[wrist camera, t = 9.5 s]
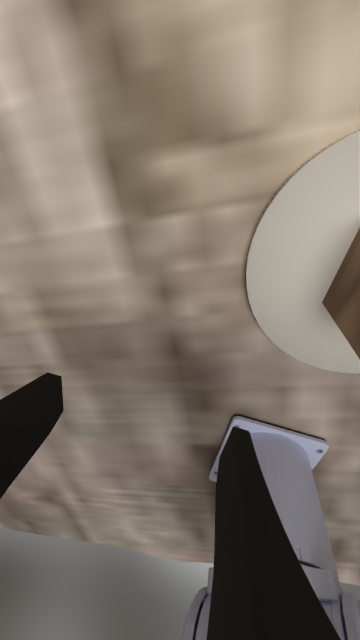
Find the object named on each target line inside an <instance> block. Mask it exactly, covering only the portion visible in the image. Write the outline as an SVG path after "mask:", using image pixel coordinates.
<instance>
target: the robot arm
mask: <svg viewBox="0 0 360 640" xmlns="http://www.w3.org/2000/svg"><path fill="white" fill-rule="evenodd" d="M62 412H63V395H62V380H61V376H58V375H55V374H51V373H46V374H44V375H42V376H41V377H39V378H37V379H35V380H34V381H32V382H30V383H29V384H27V385H25V386H23V387H22V388H20V389H18V390H17V391H15V392H13V393H11V394H10V395H8V396H6V397H4V398H3V399H1V400H0V499H1V497H2V496H3V494H4V493H5V492H6V490H7V489H8V487H9V486H10V485H11V483H12V482H13V481H14V480H15V478H16V477H17V476H18V474H19V473H20V472H21V470H22V469H23V468H24V467H25V465H26V464H27V463H28V461H29V460H30V459H31V457H32V456H33V455H34V453H35V452H36V451H37V450H38V448H39V447H40V446H41V444H42V443H43V442H44V440H45V439H46V438H47V436H48V435H49V434H50V432H51V430H52V429H53V427H54V426H55V424H56V422H57V421H58V419H59V417H60V415H61V414H62ZM236 425H238V426H236ZM328 449H329V446H328V443H327V442H326V441H324V440H321V439H318V438H314V437H311V436H307V435H304V434H300V433H297V432H293V431H290V430H286V429H283V428H279V427H276V426H272V425H269V424H265V423H262V422H258V421H255V420H251V419H248V418H244V417H241V416H235V417H233V419H232V421H231V424H230V426H229V428H228V431H227V433H226V435H225V438H224V440H223V443H222V445H221V447H220V450H219V452H218V454H217V457H216V459H215V461H214V464H213V466H212V469H211V471H210V473H209V479H210V480H211V481H214V482H216V508H215V537H214V567H213V568H209V573H208V586H207V587H204V588H202V589H200V590H199V591H198V593H197V594H196V595H195V597H194V599H193V601H192V603H191V606H190V609H189V611H188V613H187V615H186V618H185V622H184V625H183V630H182V634H181V640H360V600H359V598H358V597H357V596H356V595H355V594H353V593H344V591H343V589H342V588H341V586H340V582H339V578H338V574H337V570H336V566H335V562H334V558H333V554H332V550H331V546H330V542H329V538H328V534H327V530H326V526H325V521H324V517H323V513H322V509H321V505H320V501H319V497H318V493H317V489H316V485H315V481H314V477H313V473H312V470H313V468H314V467H315V466H316V465H317V463H318V462H319V461H320V459H321V458H322V457H323V455H324V454H325V453H326V451H327V450H328Z"/></svg>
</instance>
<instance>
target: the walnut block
mask: <svg viewBox="0 0 360 640" xmlns="http://www.w3.org/2000/svg"><path fill="white" fill-rule="evenodd" d="M322 303H323V305H324V306H325V308H326V309H327V311H328V312H329V314H330V315H331V317H332V318H333V320H334V321H335V323H336V324H337V326H338V327H339V329H340V330H341V332H342V333H343V335H344V337H345V338H346V340H347V341H348V343H349V344H350V346H351V347H352V349H353V350H354V352H355V353H356V355H357V356H358V358H359V359H360V228H359V230H358V232H357V234H356V236H355V238H354V240H353V242H352V243H351V245H350V247H349V249H348V251H347V253H346V255H345V257H344V259H343V261H342V263H341V265H340V267H339V269H338V271H337V273H336V275H335V277H334V279H333V281H332V283H331V285H330V287H329V289H328V291H327V293H326V295H325V297H324V299H323V301H322Z"/></svg>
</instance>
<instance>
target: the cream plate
mask: <svg viewBox="0 0 360 640" xmlns="http://www.w3.org/2000/svg"><path fill="white" fill-rule="evenodd" d="M359 228H360V130H359V131H357V132H355V133H353V134H351V135H348V136H346V137H344V138H342V139H341V140H339V141H337V142H335V143H334V144H332V145H330V146H329V147H327V148H325V149H324V150H322V151H321V152H320V153H318V154H317V155H316V156H314V157H313V158H312V159H310V160H309V161H308V162H306V163H305V164H304V165H303V166H302V167H301V168H300V169H299V170H298V171H296V172H295V173H294V174H293V175H292V176H291V177H290V178H289V179H288V180H287V182H286V183H285V184H284V185H283V186H282V187H281V188H280V190H279V191H278V192H277V193H276V195H275V196H274V198H273V199H272V200H271V202H270V203H269V205H268V206H267V208H266V209H265V211H264V213H263V215H262V217H261V219H260V221H259V222H258V224H257V227H256V229H255V232H254V235H253V237H252V240H251V244H250V248H249V252H248V257H247V266H246V284H247V292H248V298H249V303H250V306H251V309H252V312H253V314H254V316H255V318H256V320H257V322H258V324H259V326H260V327H261V329H262V330H263V332H264V333H265V334H266V336H267V337H268V338H269V339H270V340H271V341H272V342H273V343H274V344H275V345H276V346H277V347H279V348H280V349H281V350H282V351H284V352H285V353H287V354H288V355H290V356H292V357H293V358H295V359H297V360H299V361H301V362H303V363H305V364H308V365H311V366H314V367H317V368H320V369H324V370H329V371H334V372H342V373H360V359H359V358H358V356H357V355H356V353H355V352H354V350H353V349H352V347H351V346H350V344H349V343H348V341H347V340H346V338H345V337H344V335H343V333H342V332H341V330H340V329H339V327H338V326H337V324H336V323H335V321H334V320H333V318H332V317H331V315H330V314H329V312H328V311H327V309H326V308H325V306H324V305H323V303H322V301H323V299H324V297H325V295H326V293H327V291H328V289H329V287H330V285H331V283H332V281H333V279H334V277H335V275H336V273H337V271H338V269H339V267H340V265H341V263H342V261H343V259H344V257H345V255H346V253H347V251H348V249H349V247H350V245H351V243H352V242H353V240H354V238H355V236H356V234H357V232H358V230H359Z"/></svg>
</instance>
